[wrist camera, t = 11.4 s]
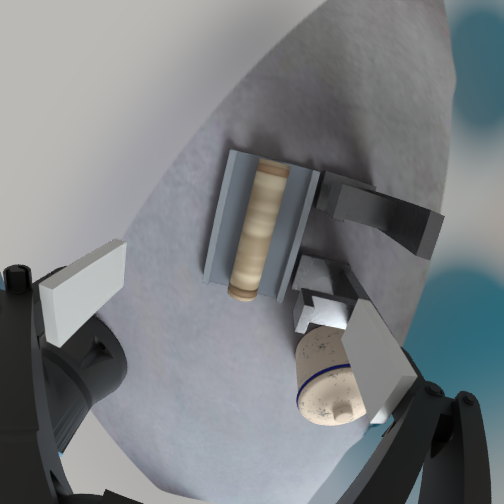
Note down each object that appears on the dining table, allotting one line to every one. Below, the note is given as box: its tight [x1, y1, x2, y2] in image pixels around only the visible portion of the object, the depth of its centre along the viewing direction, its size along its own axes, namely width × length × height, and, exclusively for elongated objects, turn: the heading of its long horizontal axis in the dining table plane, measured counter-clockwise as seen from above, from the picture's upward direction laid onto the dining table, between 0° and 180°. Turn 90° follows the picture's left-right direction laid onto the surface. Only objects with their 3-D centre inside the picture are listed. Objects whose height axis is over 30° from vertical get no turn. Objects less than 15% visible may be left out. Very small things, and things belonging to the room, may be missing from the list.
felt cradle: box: [202, 149, 320, 303], centre depth 30 cm, size 9×14×2 cm, turn 167°
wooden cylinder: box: [228, 158, 291, 301], centre depth 28 cm, size 14×3×3 cm, turn 166°
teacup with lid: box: [295, 325, 366, 425], centre depth 29 cm, size 12×9×12 cm
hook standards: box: [291, 171, 445, 337], centre depth 24 cm, size 6×13×14 cm, turn 167°
